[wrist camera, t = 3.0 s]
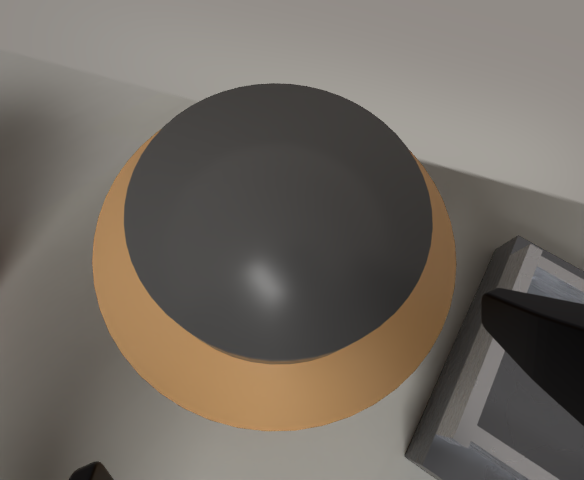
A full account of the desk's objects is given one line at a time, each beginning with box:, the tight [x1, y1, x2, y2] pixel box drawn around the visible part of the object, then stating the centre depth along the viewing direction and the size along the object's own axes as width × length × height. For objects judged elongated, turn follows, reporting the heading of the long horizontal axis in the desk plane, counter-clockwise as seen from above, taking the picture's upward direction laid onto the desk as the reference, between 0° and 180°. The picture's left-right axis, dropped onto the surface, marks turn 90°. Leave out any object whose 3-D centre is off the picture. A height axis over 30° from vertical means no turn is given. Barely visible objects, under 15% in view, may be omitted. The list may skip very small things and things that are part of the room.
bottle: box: [92, 84, 456, 431], centre depth 11 cm, size 6×6×14 cm
